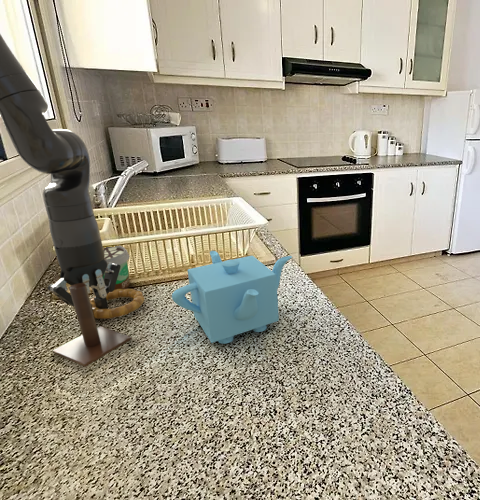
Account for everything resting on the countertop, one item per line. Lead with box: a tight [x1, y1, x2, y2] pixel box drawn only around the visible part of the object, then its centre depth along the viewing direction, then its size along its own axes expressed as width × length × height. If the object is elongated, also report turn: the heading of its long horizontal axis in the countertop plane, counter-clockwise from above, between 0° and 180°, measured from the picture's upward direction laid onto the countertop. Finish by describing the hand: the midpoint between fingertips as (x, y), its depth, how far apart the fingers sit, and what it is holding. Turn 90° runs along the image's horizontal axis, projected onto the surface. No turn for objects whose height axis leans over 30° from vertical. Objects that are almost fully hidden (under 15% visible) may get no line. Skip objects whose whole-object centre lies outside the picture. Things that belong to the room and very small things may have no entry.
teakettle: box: [171, 250, 293, 345], centre depth 77 cm, size 19×19×15 cm
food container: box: [103, 245, 131, 290], centre depth 91 cm, size 12×6×10 cm, turn 22°
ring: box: [89, 288, 145, 320], centre depth 82 cm, size 11×11×2 cm
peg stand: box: [51, 283, 133, 368], centre depth 68 cm, size 9×9×14 cm
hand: (96, 316), depth 78 cm, fingers closed on ring, 2 cm apart
